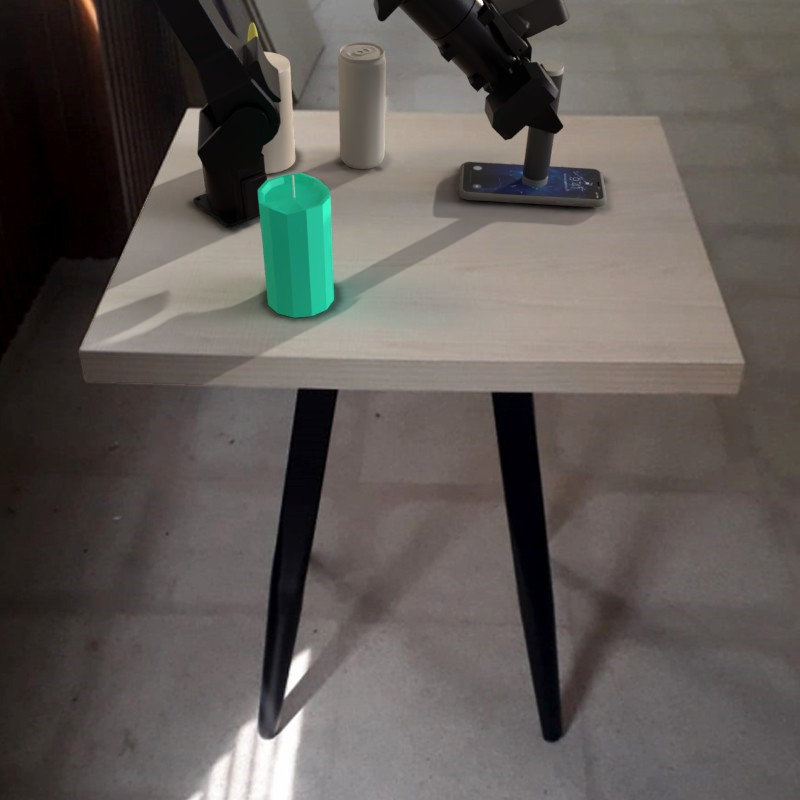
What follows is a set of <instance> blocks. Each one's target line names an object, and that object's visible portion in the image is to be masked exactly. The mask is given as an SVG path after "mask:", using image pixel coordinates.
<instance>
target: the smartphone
mask: <svg viewBox="0 0 800 800" xmlns="http://www.w3.org/2000/svg"><path fill="white" fill-rule="evenodd" d="M523 168H524V164H521V163H504V162H503V163H501V162H483V161H465V162H463V163H461V165H460V167H459V178H458V179H459V180H458V196H459V197H460V198H461V199H464V200H466V201H480V202H495V203H497V202H499V203H515V204H532V205H533V204H534V205H547V206H548V205H549V206H565V207H582V208H583V207H584V208H601V207H604V206H606V204H607V200H608V199H607V191H606V187H605V181H604V180H605V179H604V175H603V172H602V171H601V170H599V169H597V168H589V167H573V166H572V167H570V166H556V165H553V166H552V165H550V167H549V173H548V180H547V184H546V185H545V186H542V187H530V186H527V185H525V184H524V183H523V182H522V176H523Z"/></svg>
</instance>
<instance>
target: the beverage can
mask: <svg viewBox="0 0 800 800" xmlns="http://www.w3.org/2000/svg"><path fill="white" fill-rule="evenodd" d="M338 53H339V54H338V56H337V77H338V78H337V79H338V121H339V122H338V123H339V157H340V159H341V161H342V163H344V164H345V165H346V166H347V167H349V168H352V169H356V170H369V169H370V170H371V169H373V168H376V167H378V166H379V165H380V164H382V161H383V160H384V158H385V151H386V150H385V143H386V142H385V141H386V140H385V139H386V126H385V125H386V83H387V58H386V51H385V49H384V48H383V46H381V45H379V44H377V43H373V42H368V41H356V42H350V43H346V44H344V45H342V46H341V47H340V48H339V50H338Z"/></svg>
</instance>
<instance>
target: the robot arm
mask: <svg viewBox="0 0 800 800" xmlns="http://www.w3.org/2000/svg"><path fill="white" fill-rule="evenodd" d="M153 2H154V3H155V5H156V7H157V8H158V10H159V11H160V13H161V14H162V16H163V17H164V19H165V20H166V22H167V24H168V25H169V26H170V27H169V28H171V30H172V31H173V33H174V35H175V36H176V37H177V39H178V41H179V42H180V44H181V45H182V47H183V49H184V50H185V52H186V53H187V54H188V56H189V58H190V59H191V61H192V62H193V65H194V67H195V70H196V73H197V76H198V79H199V82H200V85H201V89H202V91H203V94H204V98H205V100H206V104H205V105H204V106H203V107H202V108H201V109H200V110H199V111H198V113H199V114H198V130H197V131H198V132H197V152H196V153H197V156H198V159H199V160H200V162H201V166H202V175H203V181H204V189H205V193H203V194H199V195H197V196H195V197H193V199H192V201H193V205H194V206H196V207H197V208H199V209H200V210H201V211H203V212H204V213H206V214H207V215H209V216H210V217H212V218H213V219H214V220H216V221H217V222H218V223H220V224H222V225H223V226H224V227H226V228H227V229H232V228H236V227H237V226H240V225H242V224H244V223H247V222H250V221H251V220H254V219H256V218H258V217H259V218H260V212H259V200H258V189H259V188H260V187H261V186H262V184H263V183H264V182H265V181H266V180H268V174H266V173H265V161H264V155H263V154H262V149H263V146H264V145H266V144H267V143H269V142H270V141H271V140H273V138H274V137H275V136H276V134H277V133H278V130H279V127H280V123H281V119H280V107H279V102H281V93H280V82H279V71H278V69H277V68H275V67H274V66H273V65H272V64H271V63H270V62H269V61H268V59H267V58H266V56H265V54H264V52H265V51H264V49H263V46H262V44H261V41H260V39H258V38H259V36H258V37H257V36H255V37H254V38H253V39H251V40H250V41H249V42H248V41H247V42H246V43H245V42H243V41H242V40H241V39H240V38H239V37H237V36H236V35H235V34H234V33H233V32H232V31H231V30H230V29H229V27H228V26H227V24H226V23H225V21H224V20H223V17H222V16H221V13H220V12H219V11H218V10H217V8H216V6H215V4H214V3H213V1H212V0H153ZM373 8H374V11H375V14H376V18H377V20H378V21H379V22H385V21H386V20H387V19H388V18H389V17H390V16H391V15H392V14H393V13H394V12H395V11H396V10H397V9H398V8H400V9H401V11H402V12H403V13H404V14H405V15H406V16H407V17H408V18H409V19H410V20H411V21H412V22H413V23H414V24H415V25H416V26H417V27H418V29H420V30H421V31H422V32H423V34H425V35H426V36H427V37H428V39H430V40H431V41H432V43H434V44H435V45H436V47H437V49H438V51H439V54H440V56H441V57H442V58H443V59H444V60H445V61H446V62H447V63H450V62H451V61H452V63H454V64H455V66H456V67H458V68H459V70H460V71H462V72H463V74H465V76H466V78H467V81H468V84H469V85H470V86H471V87H472V88H473V89H474V90H475V91H476V92H479V91H481V89H483V91H484V92H485V93H487V95H486V96H485V101H484V113H485V115H486V117H487V119H488V121H489V124H490V126H491V128H492V129H493V130H494V131H495V132H496V133H497V134H498V135H499V136H500V137H501V138H502V139H503V140H504V141H508V140H512V139H513V138H514V137H515V136H516V135H518V134H519V133H520V132H521V131H522V130H523V129H525V127H528V128H529V127H532V128H536V129H539V130H542V131H546V132H549V133H553V134H554V135H557V134H558V133H559V132H560V131H562V130H563V128H564V124H563V123H562V120H561V119H560V118H559V116H558V113H557V114H556V112H555V111H554V109H553V107H552V106H551V103H552V102H553V101H554V100H555V99H556V97H557V95H558V93H559V91H558V89H557V87H556V86H555V84H554V82H553V81H552V79H551V78H550V77H549V75H548V73H547V71H546V69H545V68H544V66H543V64H540V65H539V64H538V62H539V61H532V56H533V55H532V54H533V47H532V44H531V43H530V42H529V41H530V40H529V38H532V37H534V36H536V35H538V34H540V33H542V32H544V31H546V30H549V29H551V28H553V27H559V26H562V25H563V24H565V23H567V22H568V21H569V20H570V18H571V14H570V11H569V7H568V5H567V1H566V0H373Z"/></svg>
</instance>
